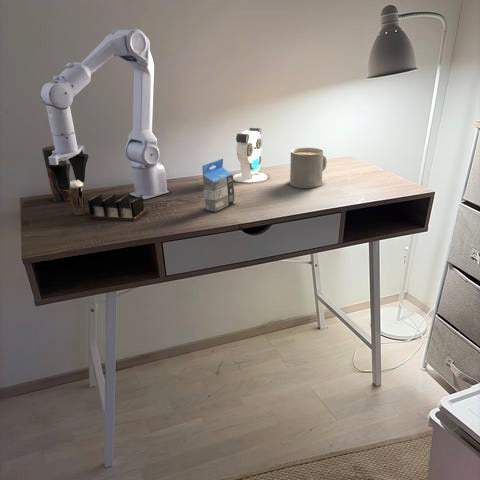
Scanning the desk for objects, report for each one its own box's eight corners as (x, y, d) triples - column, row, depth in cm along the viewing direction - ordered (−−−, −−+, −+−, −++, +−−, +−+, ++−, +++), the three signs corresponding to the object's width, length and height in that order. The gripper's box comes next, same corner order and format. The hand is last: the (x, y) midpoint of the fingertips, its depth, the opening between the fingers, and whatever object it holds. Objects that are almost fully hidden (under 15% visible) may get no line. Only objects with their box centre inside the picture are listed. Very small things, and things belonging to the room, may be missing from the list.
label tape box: (215, 212, 140) (213, 167, 134) (204, 209, 142) (201, 165, 136) (235, 203, 146) (233, 160, 140) (224, 201, 148) (222, 158, 142)
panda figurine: (258, 184, 162) (257, 135, 155) (226, 181, 167) (224, 133, 159) (272, 175, 171) (272, 128, 164) (242, 172, 176) (240, 126, 168)
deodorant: (69, 201, 153) (59, 150, 145) (50, 201, 153) (38, 150, 145) (76, 195, 158) (66, 145, 150) (57, 195, 158) (46, 145, 150)
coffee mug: (301, 189, 156) (302, 156, 151) (284, 182, 163) (284, 150, 158) (336, 183, 161) (339, 150, 156) (318, 176, 169) (320, 144, 164)
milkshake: (80, 209, 146) (73, 174, 141) (91, 212, 143) (85, 176, 138) (66, 213, 143) (59, 177, 138) (78, 217, 140) (70, 180, 135)
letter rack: (90, 218, 139) (87, 200, 136) (102, 210, 145) (99, 192, 142) (134, 221, 136) (131, 202, 134) (145, 212, 142) (142, 194, 139)
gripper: (64, 128, 139) (74, 177, 146) (33, 138, 127) (45, 192, 134) (87, 128, 138) (96, 178, 145) (58, 139, 126) (69, 193, 132)
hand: (73, 185), depth 139 cm, fingers open, 7 cm apart
